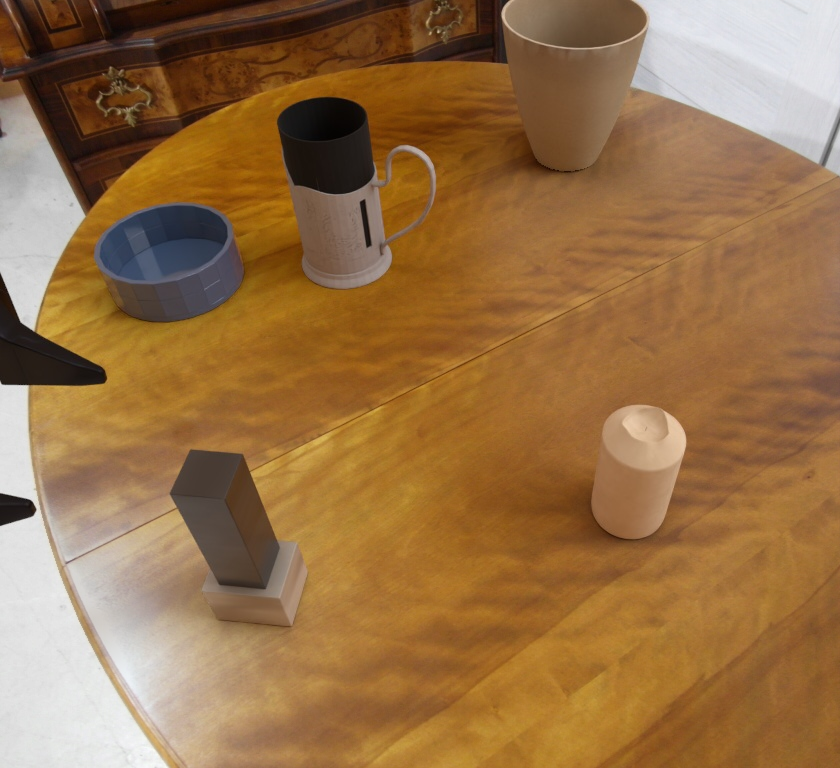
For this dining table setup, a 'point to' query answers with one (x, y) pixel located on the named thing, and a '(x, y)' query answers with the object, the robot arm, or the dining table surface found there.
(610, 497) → the candle
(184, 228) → the bowl
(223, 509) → the dark post on base
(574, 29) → the plant pot
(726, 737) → the dining table surface
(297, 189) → the glass holder
